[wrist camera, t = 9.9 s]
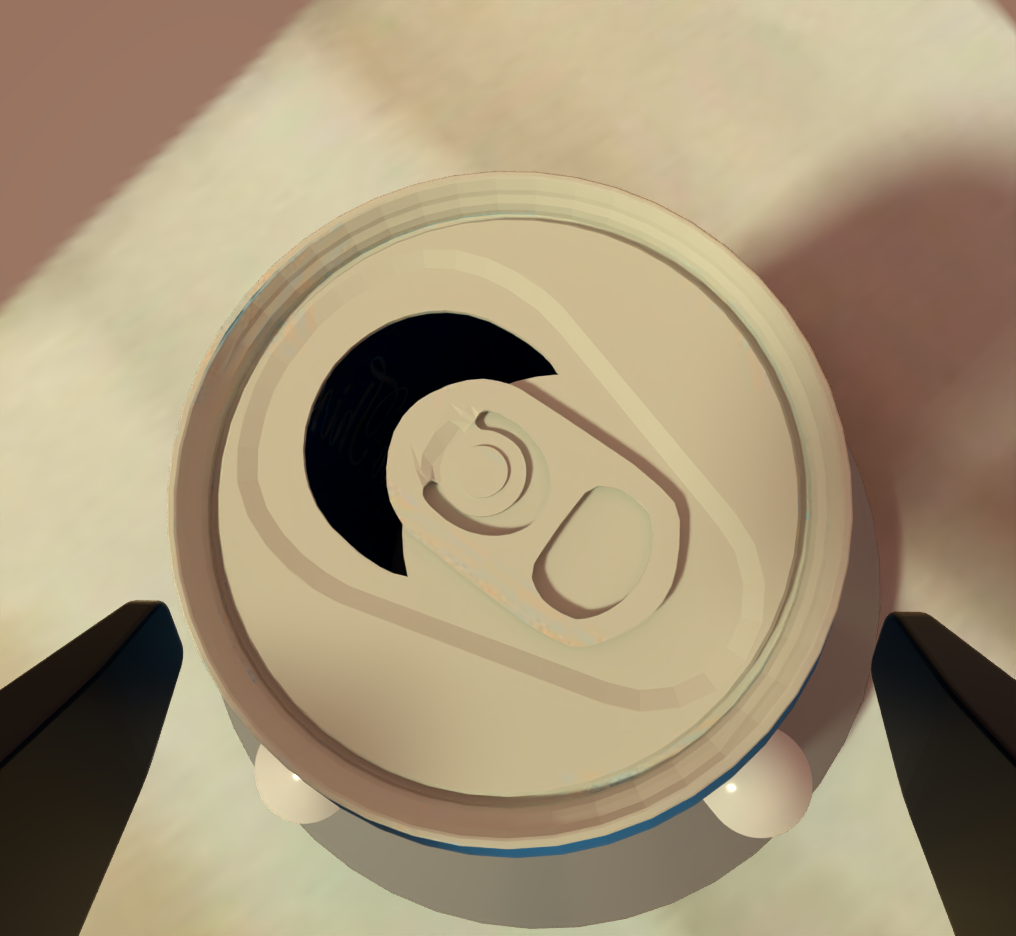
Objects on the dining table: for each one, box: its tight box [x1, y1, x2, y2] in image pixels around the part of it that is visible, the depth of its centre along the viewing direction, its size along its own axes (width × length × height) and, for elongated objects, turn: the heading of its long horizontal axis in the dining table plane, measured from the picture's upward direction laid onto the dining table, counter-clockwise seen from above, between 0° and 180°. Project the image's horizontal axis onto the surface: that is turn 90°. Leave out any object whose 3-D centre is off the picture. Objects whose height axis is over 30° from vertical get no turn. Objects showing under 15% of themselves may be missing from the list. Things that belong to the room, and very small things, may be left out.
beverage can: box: [167, 171, 853, 858], centre depth 12 cm, size 6×6×12 cm
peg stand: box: [221, 438, 880, 929], centre depth 17 cm, size 16×16×4 cm
